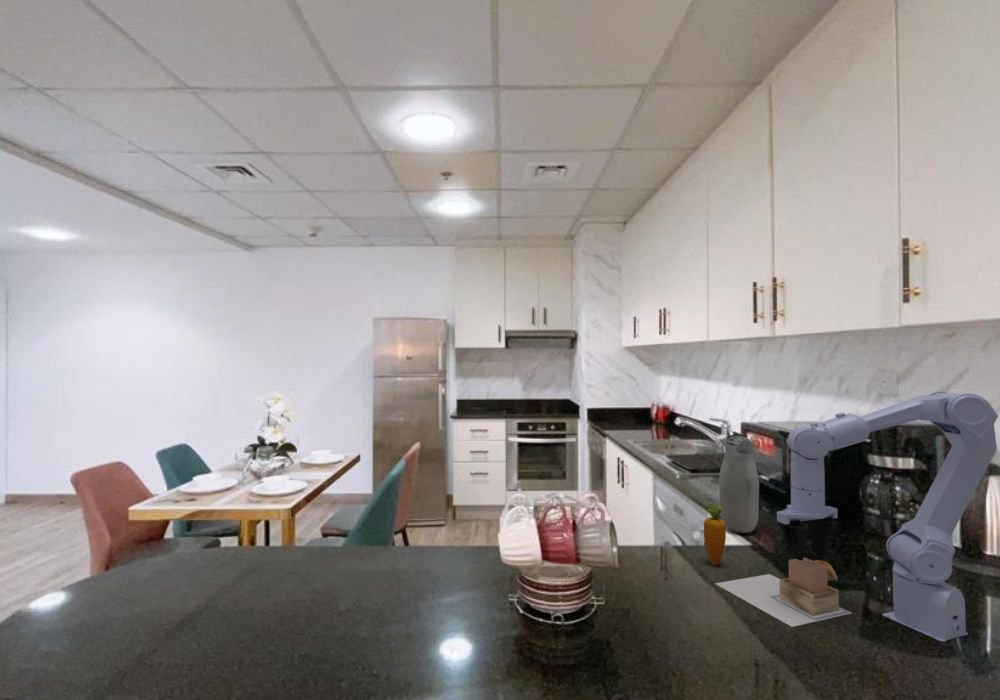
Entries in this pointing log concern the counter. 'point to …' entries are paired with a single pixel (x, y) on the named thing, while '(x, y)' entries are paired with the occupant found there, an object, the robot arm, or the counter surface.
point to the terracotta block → (808, 575)
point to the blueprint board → (773, 600)
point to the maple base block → (809, 599)
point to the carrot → (714, 535)
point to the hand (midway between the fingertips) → (808, 556)
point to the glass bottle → (739, 486)
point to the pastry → (829, 571)
